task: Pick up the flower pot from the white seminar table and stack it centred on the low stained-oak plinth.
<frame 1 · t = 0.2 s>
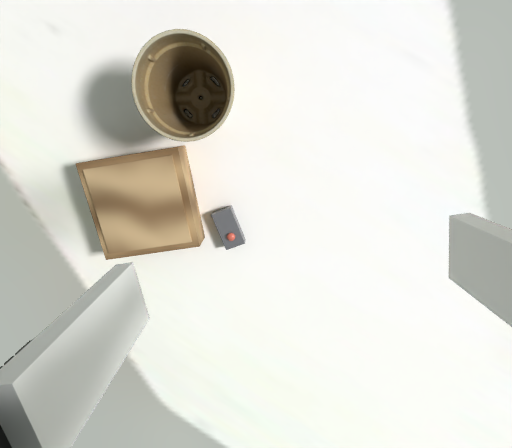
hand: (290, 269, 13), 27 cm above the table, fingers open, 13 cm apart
flower pot: (200, 98, 36), on the table
plinth: (150, 200, 40), on the table
clicker: (229, 225, 41), on the table
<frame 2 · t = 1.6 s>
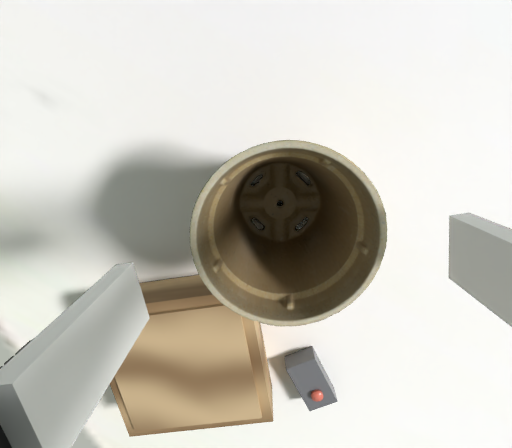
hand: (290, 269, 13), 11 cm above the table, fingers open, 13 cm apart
flower pot: (278, 200, 23), on the table
plinth: (193, 339, 27), on the table
clicker: (309, 369, 28), on the table
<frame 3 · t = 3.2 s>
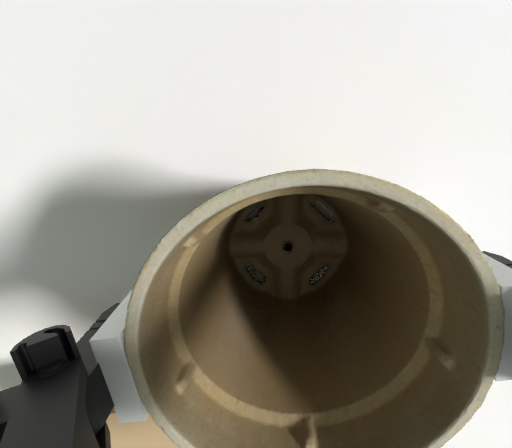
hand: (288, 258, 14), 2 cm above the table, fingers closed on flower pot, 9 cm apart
flower pot: (285, 241, 16), on the table, touching gripper
plinth: (168, 424, 20), on the table
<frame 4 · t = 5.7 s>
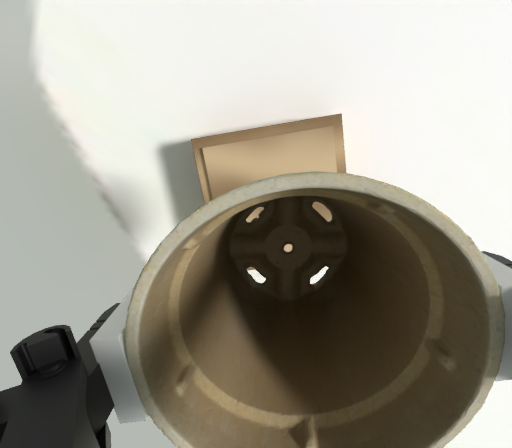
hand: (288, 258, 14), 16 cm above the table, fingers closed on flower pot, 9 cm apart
flower pot: (285, 242, 16), point 14 cm above the table, touching gripper
plinth: (274, 192, 29), on the table
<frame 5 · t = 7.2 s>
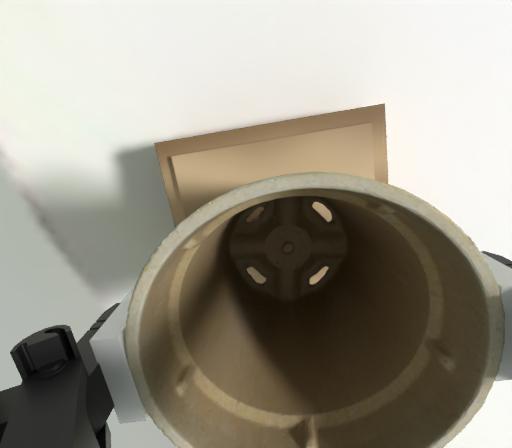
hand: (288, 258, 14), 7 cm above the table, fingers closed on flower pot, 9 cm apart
flower pot: (285, 242, 16), point 5 cm above the table, touching gripper
plinth: (279, 216, 21), on the table
when the fingers open (7 cm above the table, at t = 8.1 s): flower pot drops 1 cm, resting on plinth.
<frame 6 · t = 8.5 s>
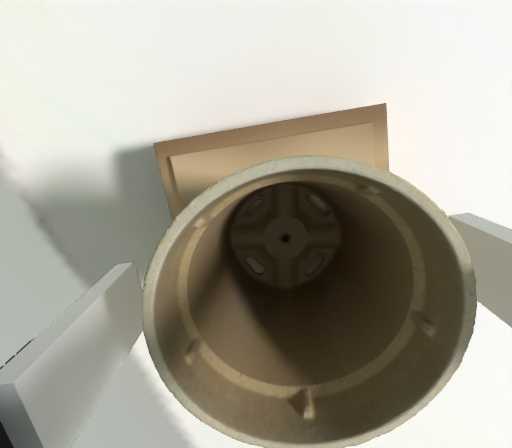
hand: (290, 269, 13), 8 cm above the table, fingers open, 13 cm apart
flower pot: (282, 233, 17), point 4 cm above the table, touching plinth
plinth: (279, 217, 21), on the table
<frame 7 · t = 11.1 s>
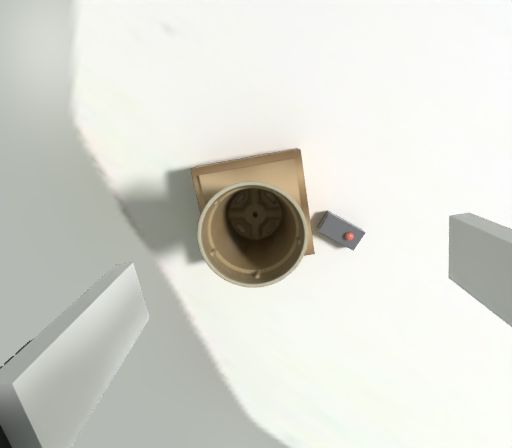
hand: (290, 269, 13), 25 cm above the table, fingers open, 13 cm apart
flower pot: (254, 212, 35), point 4 cm above the table, touching plinth
plinth: (255, 206, 38), on the table
clicker: (338, 228, 39), on the table
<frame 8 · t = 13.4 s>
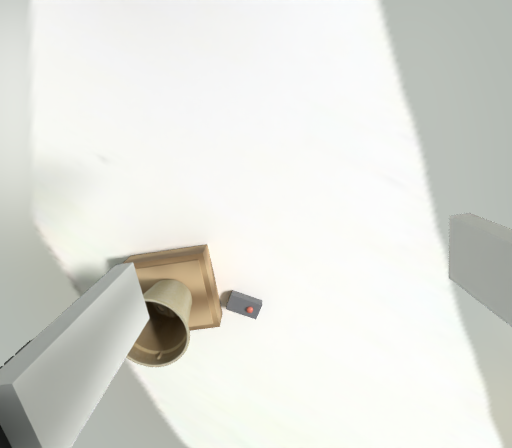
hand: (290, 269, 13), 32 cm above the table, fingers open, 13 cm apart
flower pot: (171, 296, 45), point 4 cm above the table, touching plinth
plinth: (177, 285, 49), on the table
clicker: (244, 301, 49), on the table
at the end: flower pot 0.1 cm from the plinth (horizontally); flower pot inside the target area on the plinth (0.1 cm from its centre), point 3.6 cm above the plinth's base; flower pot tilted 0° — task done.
